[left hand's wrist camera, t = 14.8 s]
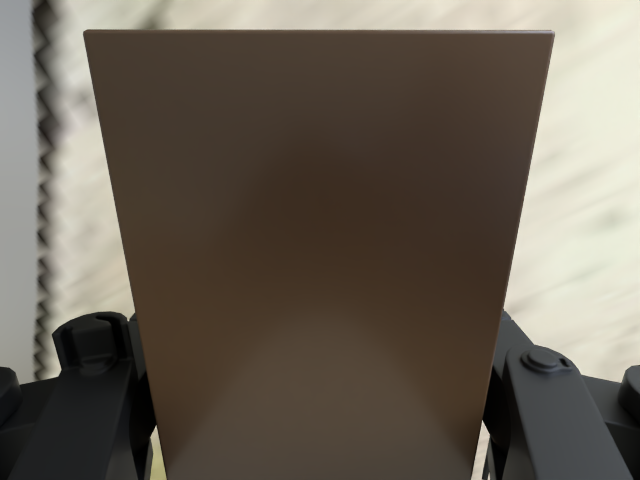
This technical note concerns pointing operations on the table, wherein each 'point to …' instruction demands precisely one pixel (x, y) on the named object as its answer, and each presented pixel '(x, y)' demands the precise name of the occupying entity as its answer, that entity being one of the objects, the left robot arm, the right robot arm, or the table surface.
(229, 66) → the beam
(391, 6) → the table surface
